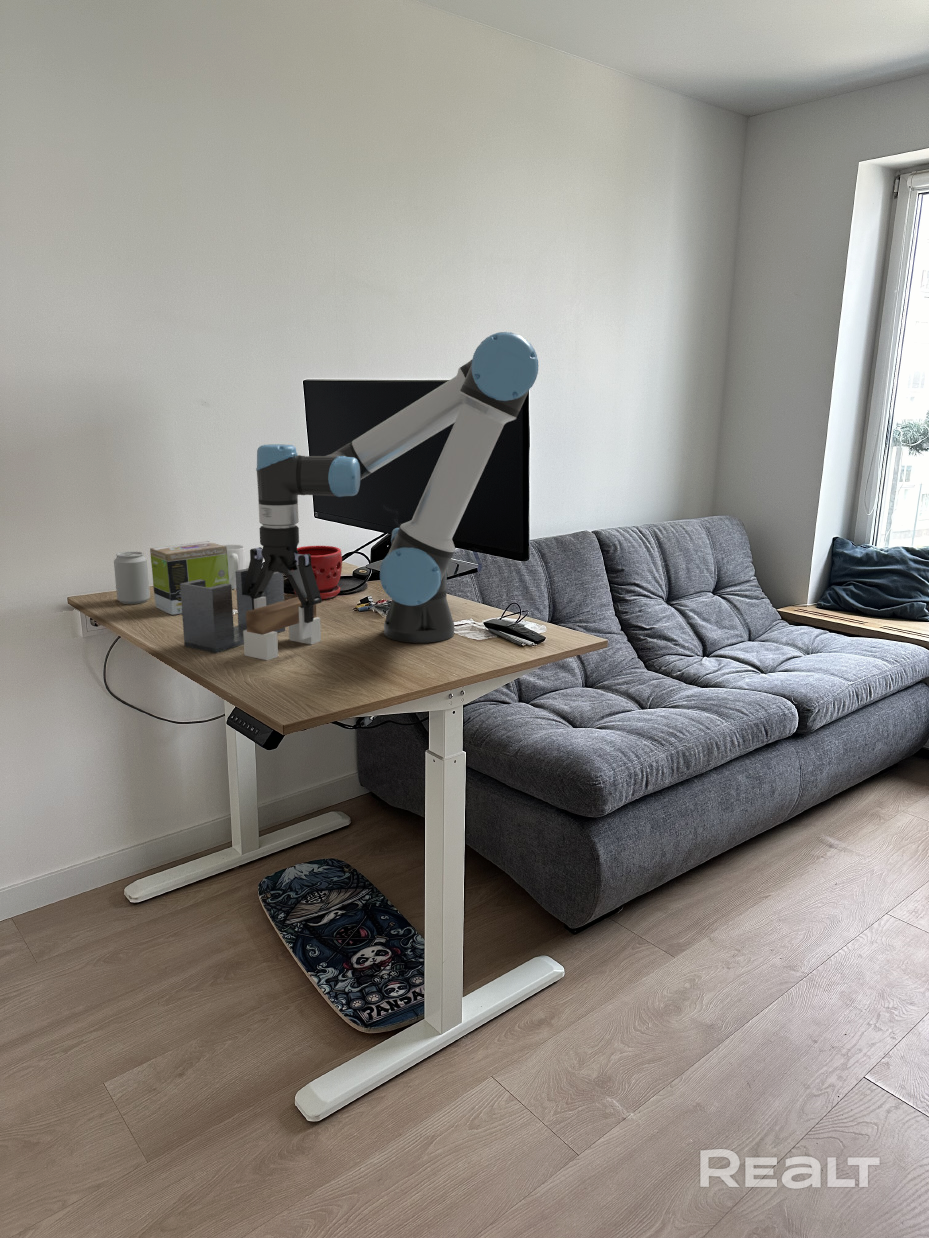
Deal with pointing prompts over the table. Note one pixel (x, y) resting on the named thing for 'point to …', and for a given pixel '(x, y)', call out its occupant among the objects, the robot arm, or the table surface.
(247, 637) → the blocks
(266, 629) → the rail
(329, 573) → the plant pot
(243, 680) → the table surface
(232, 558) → the mug
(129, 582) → the can
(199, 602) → the brackets
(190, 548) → the tea box
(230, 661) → the table surface
